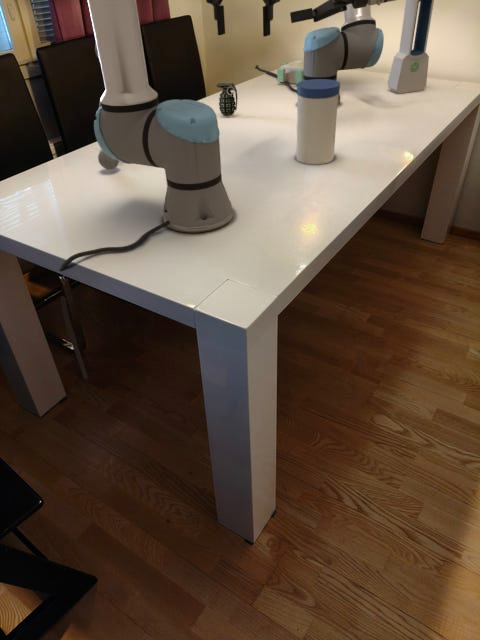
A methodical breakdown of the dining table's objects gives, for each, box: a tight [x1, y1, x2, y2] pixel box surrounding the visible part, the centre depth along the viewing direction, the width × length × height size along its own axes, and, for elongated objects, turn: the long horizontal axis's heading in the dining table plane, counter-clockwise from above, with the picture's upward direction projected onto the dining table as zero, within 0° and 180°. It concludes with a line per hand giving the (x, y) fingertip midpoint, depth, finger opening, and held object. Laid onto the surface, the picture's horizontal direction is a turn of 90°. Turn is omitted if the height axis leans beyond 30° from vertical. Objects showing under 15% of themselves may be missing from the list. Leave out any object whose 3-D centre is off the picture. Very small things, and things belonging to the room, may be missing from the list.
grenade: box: [215, 82, 238, 117], centre depth 166 cm, size 7×6×10 cm
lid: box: [296, 79, 341, 98], centre depth 122 cm, size 11×11×2 cm
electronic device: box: [387, 0, 435, 94], centre depth 176 cm, size 12×8×30 cm, turn 105°
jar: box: [295, 94, 338, 165], centre depth 128 cm, size 10×10×18 cm
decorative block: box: [276, 58, 304, 85], centre depth 205 cm, size 26×6×20 cm
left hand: (243, 35), depth 129 cm, fingers open, 13 cm apart
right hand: (290, 6), depth 138 cm, fingers open, 13 cm apart
